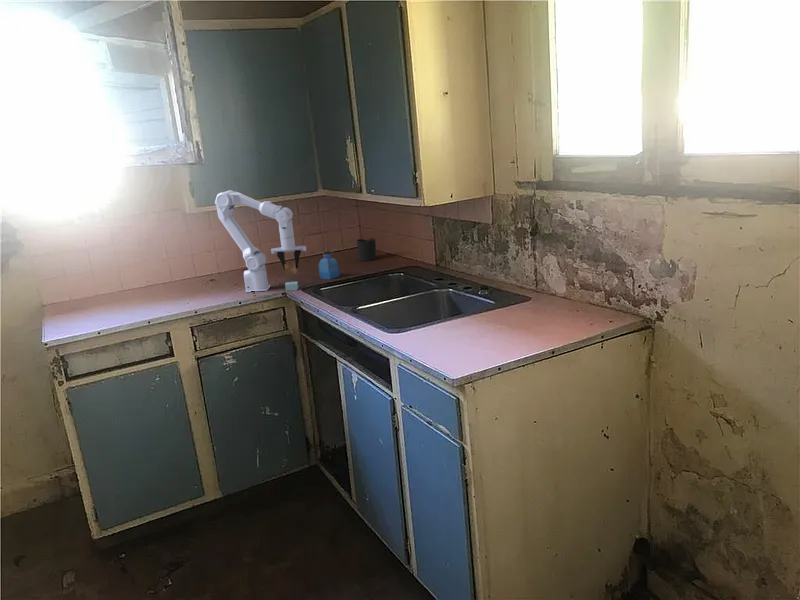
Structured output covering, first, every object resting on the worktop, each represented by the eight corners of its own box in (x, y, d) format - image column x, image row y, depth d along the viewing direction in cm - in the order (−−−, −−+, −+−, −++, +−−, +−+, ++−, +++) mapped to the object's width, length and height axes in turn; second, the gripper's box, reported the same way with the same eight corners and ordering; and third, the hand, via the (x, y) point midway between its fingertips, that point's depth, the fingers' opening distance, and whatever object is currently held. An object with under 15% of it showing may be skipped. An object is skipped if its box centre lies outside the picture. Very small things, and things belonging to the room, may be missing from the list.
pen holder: (368, 256, 333) (366, 237, 330) (380, 258, 326) (379, 238, 324) (354, 260, 326) (352, 240, 324) (367, 262, 320) (365, 242, 317)
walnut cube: (285, 274, 277) (284, 264, 276) (287, 272, 281) (285, 262, 280) (296, 273, 277) (295, 263, 276) (297, 271, 281) (296, 261, 280)
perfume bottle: (330, 279, 291) (327, 252, 287) (320, 278, 294) (316, 252, 291) (339, 276, 295) (336, 250, 292) (329, 275, 299) (326, 249, 296)
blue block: (285, 291, 276) (285, 284, 275) (286, 289, 280) (285, 282, 280) (297, 290, 276) (297, 283, 275) (298, 287, 281) (297, 281, 280)
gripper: (305, 234, 279) (309, 265, 282) (271, 237, 279) (275, 268, 282) (303, 236, 272) (307, 268, 275) (268, 239, 272) (272, 271, 275)
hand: (291, 268), depth 278 cm, fingers closed on walnut cube, 4 cm apart
